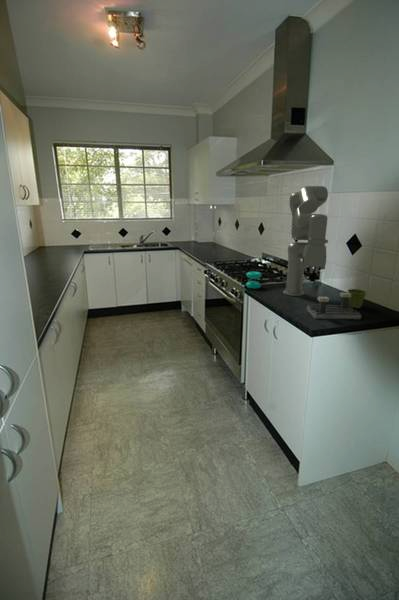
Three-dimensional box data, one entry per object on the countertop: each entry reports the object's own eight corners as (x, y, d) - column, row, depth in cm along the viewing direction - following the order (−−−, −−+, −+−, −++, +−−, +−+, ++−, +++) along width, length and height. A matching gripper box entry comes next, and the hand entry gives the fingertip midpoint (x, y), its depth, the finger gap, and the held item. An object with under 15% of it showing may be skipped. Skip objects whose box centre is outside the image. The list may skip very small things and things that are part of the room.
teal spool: (254, 270, 215) (264, 273, 207) (253, 284, 218) (263, 287, 210) (243, 272, 210) (253, 274, 202) (242, 286, 213) (252, 289, 205)
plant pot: (368, 308, 169) (371, 292, 166) (354, 310, 166) (356, 294, 164) (355, 303, 178) (358, 288, 175) (341, 304, 175) (343, 289, 172)
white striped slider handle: (338, 306, 165) (340, 292, 162) (346, 306, 164) (348, 292, 162) (340, 308, 161) (342, 294, 159) (349, 308, 161) (351, 294, 159)
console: (306, 309, 167) (307, 304, 166) (348, 310, 166) (349, 304, 166) (315, 318, 154) (315, 313, 153) (360, 319, 153) (361, 313, 152)
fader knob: (316, 311, 157) (317, 296, 155) (325, 311, 157) (326, 296, 155) (318, 313, 154) (320, 298, 152) (327, 313, 154) (329, 298, 152)
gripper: (329, 241, 149) (325, 279, 154) (297, 241, 150) (294, 279, 155) (335, 243, 142) (330, 283, 147) (302, 243, 142) (298, 282, 148)
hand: (312, 281), depth 151 cm, fingers closed
